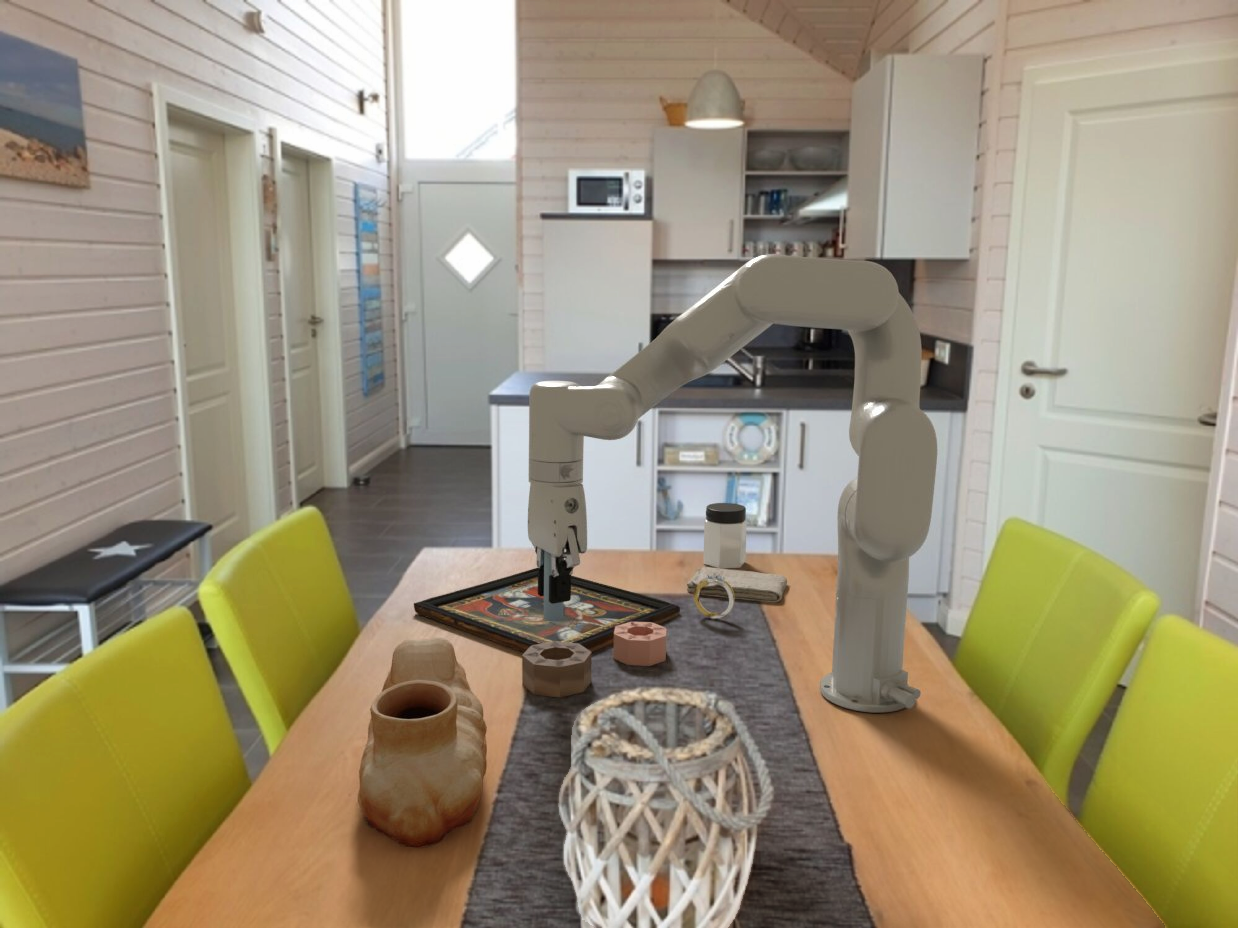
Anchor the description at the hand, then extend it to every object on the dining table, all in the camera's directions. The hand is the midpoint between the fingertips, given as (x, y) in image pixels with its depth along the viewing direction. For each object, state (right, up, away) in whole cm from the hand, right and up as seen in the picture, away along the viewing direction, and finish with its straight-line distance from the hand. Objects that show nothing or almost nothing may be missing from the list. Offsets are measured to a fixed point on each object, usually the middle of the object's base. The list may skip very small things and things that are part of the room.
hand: (554, 597), depth 135 cm
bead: (0, -13, +2) cm, 13 cm away
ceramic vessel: (-13, -18, -26) cm, 34 cm away
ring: (+26, -8, +30) cm, 40 cm away
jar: (+31, -2, +63) cm, 70 cm away
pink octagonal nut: (+12, -11, +13) cm, 21 cm away
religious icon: (-3, -8, +31) cm, 32 cm away
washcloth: (+32, -6, +46) cm, 56 cm away
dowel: (0, -3, +1) cm, 3 cm away
